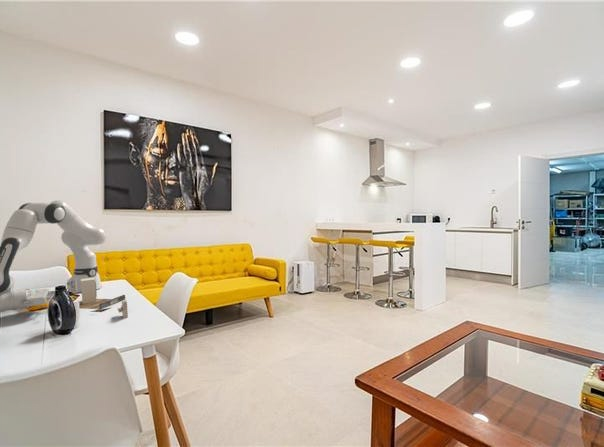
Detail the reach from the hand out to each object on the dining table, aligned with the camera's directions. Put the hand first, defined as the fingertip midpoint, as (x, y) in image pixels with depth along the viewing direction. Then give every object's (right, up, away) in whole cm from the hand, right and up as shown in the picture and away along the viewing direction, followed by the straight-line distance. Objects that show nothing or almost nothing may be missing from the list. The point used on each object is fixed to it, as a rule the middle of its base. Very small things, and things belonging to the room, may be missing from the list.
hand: (59, 294), depth 159 cm
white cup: (+24, -9, -26) cm, 36 cm away
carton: (+10, -6, +7) cm, 14 cm away
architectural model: (+40, -8, -13) cm, 43 cm away
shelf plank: (+15, -7, +4) cm, 17 cm away
